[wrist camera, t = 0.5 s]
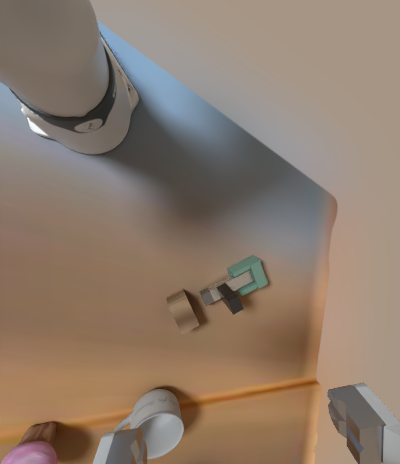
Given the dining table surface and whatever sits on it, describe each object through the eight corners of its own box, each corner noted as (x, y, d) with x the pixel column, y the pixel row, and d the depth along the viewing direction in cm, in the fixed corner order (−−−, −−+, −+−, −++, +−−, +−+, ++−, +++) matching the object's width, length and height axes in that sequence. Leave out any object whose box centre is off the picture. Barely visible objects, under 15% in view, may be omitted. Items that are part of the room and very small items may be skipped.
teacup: (182, 380, 51) (189, 412, 44) (173, 420, 52) (178, 458, 45) (120, 381, 48) (116, 416, 40) (112, 425, 49) (107, 467, 41)
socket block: (166, 297, 47) (168, 306, 43) (182, 288, 48) (186, 297, 44) (178, 322, 49) (182, 334, 45) (194, 314, 50) (199, 325, 45)
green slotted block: (226, 268, 50) (233, 274, 46) (252, 255, 51) (261, 259, 47) (235, 290, 51) (243, 297, 48) (260, 276, 53) (269, 282, 49)
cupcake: (66, 408, 45) (46, 464, 36) (69, 443, 47) (50, 506, 37) (16, 418, 43) (-20, 481, 34) (20, 454, 44) (-13, 525, 35)
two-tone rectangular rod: (199, 291, 48) (211, 310, 40) (256, 261, 51) (278, 274, 42) (204, 302, 49) (216, 323, 41) (260, 272, 51) (283, 286, 43)
